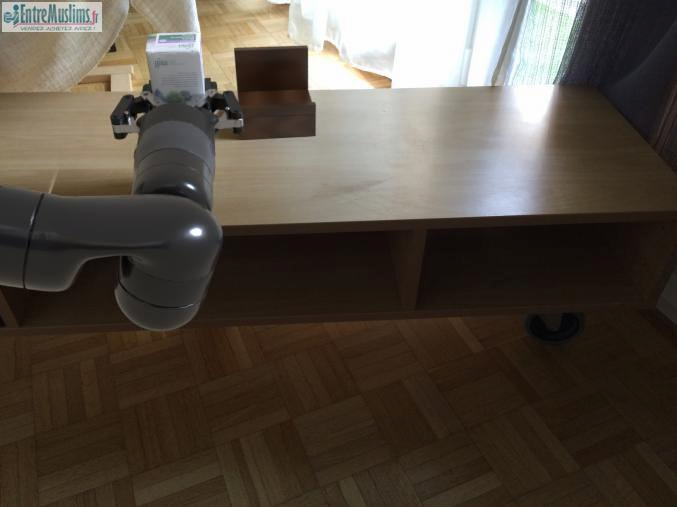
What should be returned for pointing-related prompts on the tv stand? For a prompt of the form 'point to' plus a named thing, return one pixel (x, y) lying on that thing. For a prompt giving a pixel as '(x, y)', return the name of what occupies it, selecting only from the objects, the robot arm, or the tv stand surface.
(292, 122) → the spice rack
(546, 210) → the tv stand surface
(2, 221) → the robot arm
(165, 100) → the syrup box
